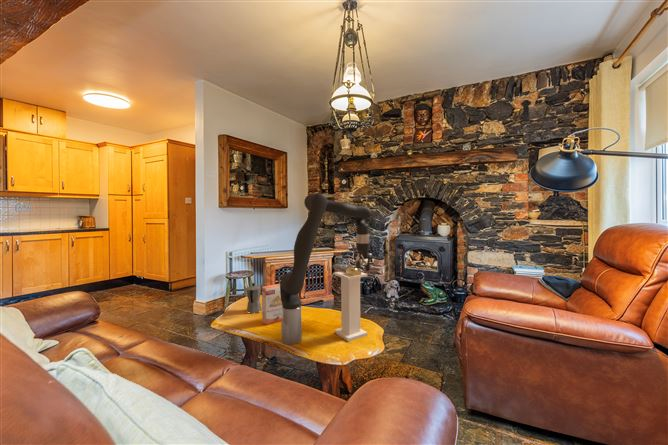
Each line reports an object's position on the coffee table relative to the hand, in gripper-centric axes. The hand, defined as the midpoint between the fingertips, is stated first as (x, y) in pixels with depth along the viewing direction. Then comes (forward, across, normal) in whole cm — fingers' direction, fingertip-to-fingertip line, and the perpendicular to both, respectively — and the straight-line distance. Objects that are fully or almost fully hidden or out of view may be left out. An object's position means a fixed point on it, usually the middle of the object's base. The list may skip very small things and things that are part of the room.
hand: (362, 269), depth 166 cm
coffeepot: (+30, -48, -49) cm, 75 cm away
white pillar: (+29, +11, -17) cm, 36 cm away
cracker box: (+30, -27, -43) cm, 59 cm away
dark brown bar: (-3, +7, -17) cm, 19 cm away
